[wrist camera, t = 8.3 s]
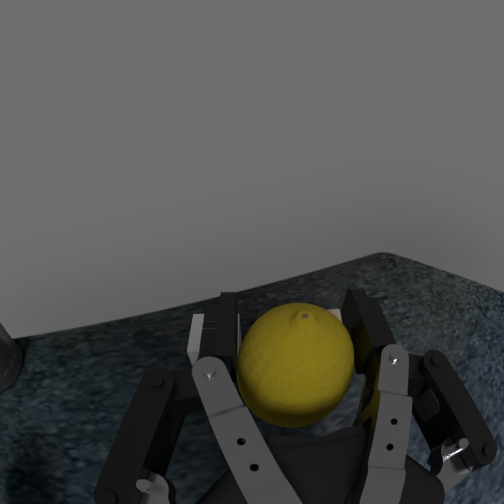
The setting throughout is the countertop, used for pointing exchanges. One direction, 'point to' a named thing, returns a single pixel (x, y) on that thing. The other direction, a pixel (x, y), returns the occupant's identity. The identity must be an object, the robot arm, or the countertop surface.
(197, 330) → the off-white block
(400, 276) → the countertop surface
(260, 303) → the countertop surface
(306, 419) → the lemon
